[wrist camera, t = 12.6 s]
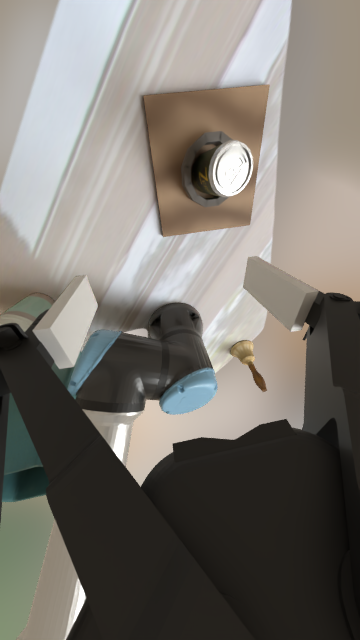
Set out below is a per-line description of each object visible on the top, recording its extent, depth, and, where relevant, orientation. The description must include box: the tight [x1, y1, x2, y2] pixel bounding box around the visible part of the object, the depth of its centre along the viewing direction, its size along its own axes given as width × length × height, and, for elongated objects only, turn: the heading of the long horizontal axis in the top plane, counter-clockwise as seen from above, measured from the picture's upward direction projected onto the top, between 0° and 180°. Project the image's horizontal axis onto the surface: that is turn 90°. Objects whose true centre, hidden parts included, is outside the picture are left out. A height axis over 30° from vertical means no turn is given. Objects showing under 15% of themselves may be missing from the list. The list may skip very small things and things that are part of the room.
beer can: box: [192, 140, 253, 197], centre depth 26 cm, size 5×5×12 cm
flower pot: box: [2, 352, 81, 502], centre depth 44 cm, size 20×20×28 cm
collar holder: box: [143, 85, 269, 237], centre depth 30 cm, size 18×18×4 cm
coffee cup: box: [0, 293, 55, 332], centre depth 37 cm, size 8×8×12 cm
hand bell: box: [230, 341, 267, 392], centre depth 56 cm, size 8×8×16 cm
